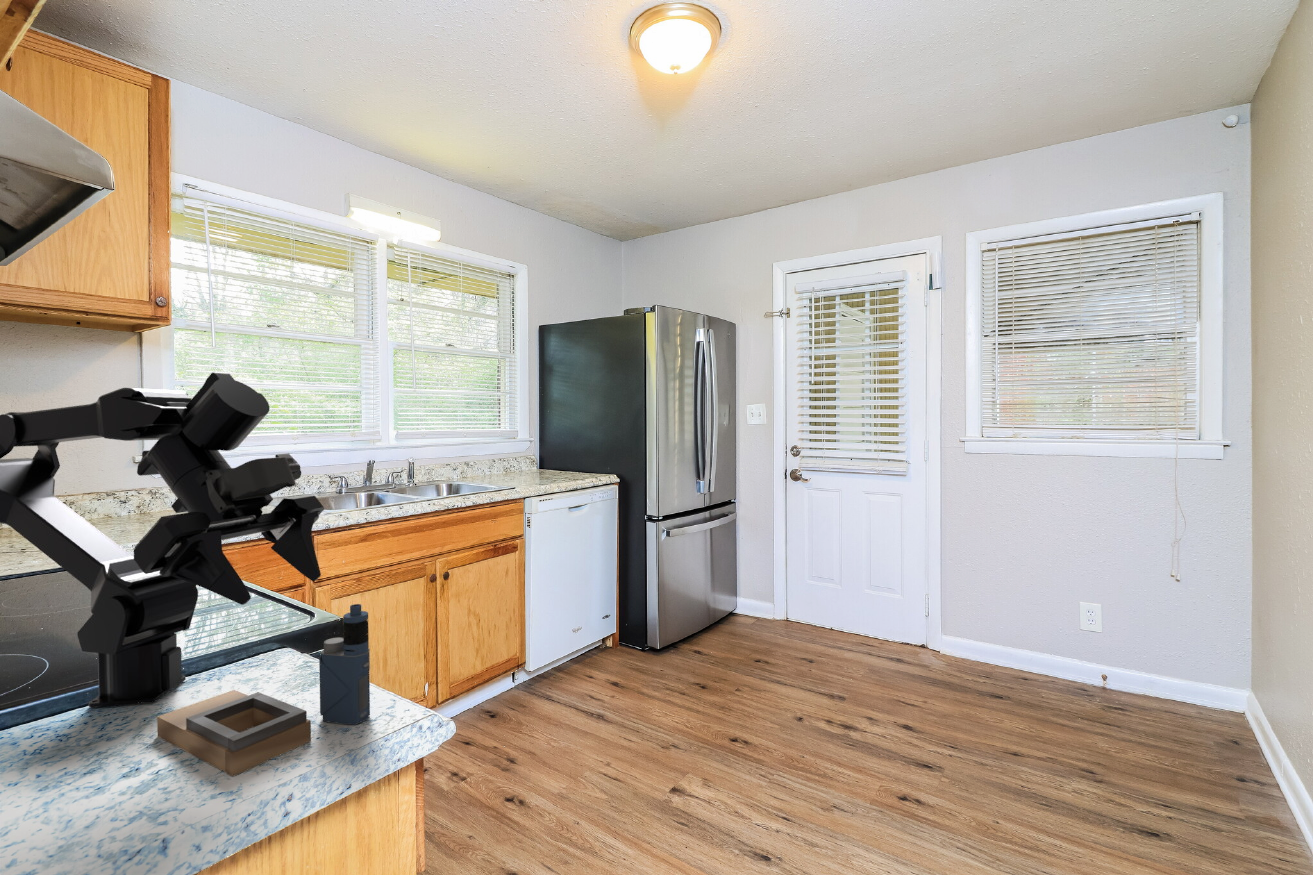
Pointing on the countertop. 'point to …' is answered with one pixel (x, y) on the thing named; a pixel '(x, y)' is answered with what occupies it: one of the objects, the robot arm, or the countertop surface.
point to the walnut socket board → (236, 730)
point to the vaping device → (346, 672)
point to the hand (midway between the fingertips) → (284, 589)
